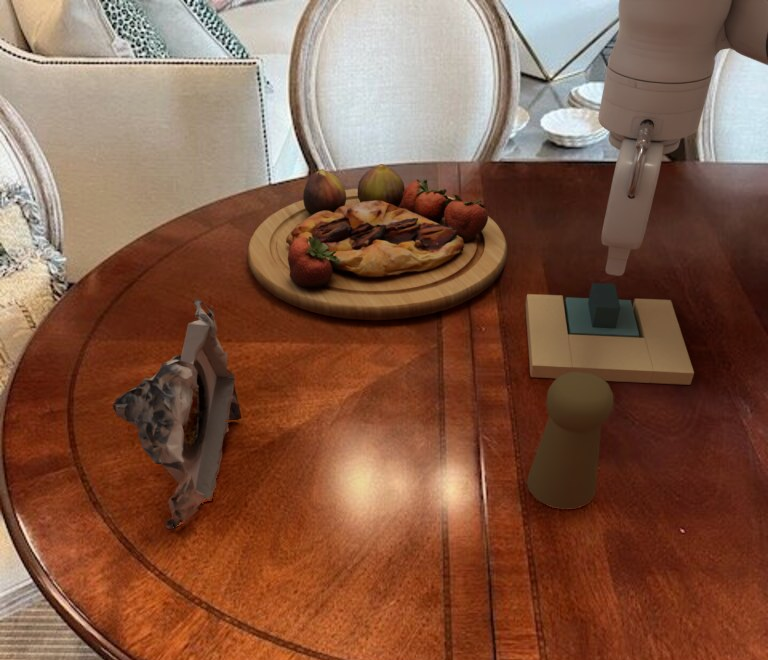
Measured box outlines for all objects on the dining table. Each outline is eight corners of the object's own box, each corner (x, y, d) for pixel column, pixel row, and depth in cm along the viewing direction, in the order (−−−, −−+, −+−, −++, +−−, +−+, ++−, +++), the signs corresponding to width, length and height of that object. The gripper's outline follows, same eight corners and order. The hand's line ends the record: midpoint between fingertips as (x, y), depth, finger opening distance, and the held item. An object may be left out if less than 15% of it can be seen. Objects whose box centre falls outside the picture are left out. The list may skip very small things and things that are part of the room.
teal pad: (628, 311, 89) (635, 279, 86) (636, 347, 84) (645, 314, 81) (563, 308, 89) (569, 276, 86) (568, 344, 84) (574, 311, 81)
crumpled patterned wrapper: (199, 418, 75) (173, 297, 66) (243, 421, 75) (222, 299, 66) (150, 531, 65) (110, 406, 56) (201, 535, 65) (169, 409, 55)
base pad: (667, 311, 89) (671, 299, 88) (690, 385, 79) (694, 372, 78) (525, 305, 90) (527, 293, 89) (530, 377, 80) (532, 365, 79)
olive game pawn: (518, 499, 67) (535, 396, 60) (536, 456, 71) (554, 354, 64) (588, 518, 66) (615, 414, 58) (602, 472, 70) (629, 370, 62)
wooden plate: (352, 361, 82) (349, 289, 76) (201, 249, 100) (189, 184, 94) (560, 265, 96) (571, 199, 90) (395, 182, 114) (395, 122, 108)
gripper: (683, 150, 62) (643, 306, 72) (692, 72, 76) (658, 211, 85) (602, 142, 63) (573, 295, 73) (626, 66, 77) (599, 204, 87)
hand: (619, 249), depth 79 cm, fingers open, 8 cm apart
